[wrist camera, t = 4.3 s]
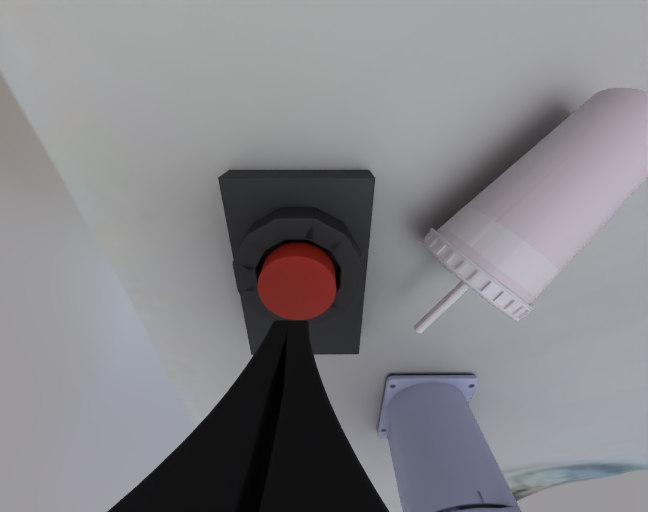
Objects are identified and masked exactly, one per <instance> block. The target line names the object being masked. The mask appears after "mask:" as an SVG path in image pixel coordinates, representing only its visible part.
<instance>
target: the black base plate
mask: <svg viewBox="0 0 648 512" xmlns="http://www.w3.org/2000/svg"><path fill="white" fill-rule="evenodd" d="M218 179H219V184H220V189H221V195H222V200H223V205H224V211H225V216H226V221H227V227H228V232H229V237H230V243H231V248H232V253H233V259H234V261H233V268H234V273H235V278H236V284H237V289H238V291H239V293H240V296H241V301H242V307H243V312H244V317H245V323H246V328H247V333H248V339H249V344H250V349H251V354H252V355H254V354H255V352H256V351H257V349H258V348H259V346H260V344H261V343H262V341H263V339H264V338H265V336H266V334H267V332H268V331H269V329H270V327H271V325H272V323H273V322H274V321H275V320H291V319H286V318H283V317H280V316H278V315H276V314H274V313H273V312H271V311H270V310H269V309H268V308H267V307H266V306H265V305H264V304H263V303H262V301H261V299H260V297H259V294H258V290H257V283H258V279H259V276H260V273H261V270H262V267H263V265H264V262H265V260H266V258H267V257H268V255H269V254H270V253H271V252H272V251H273V250H274V249H276V248H277V247H279V246H281V245H284V244H287V243H292V242H303V243H308V244H311V245H314V246H316V247H318V248H320V249H321V250H323V251H324V252H325V253H326V254H327V255H328V256H329V257H330V259H331V261H332V262H333V265H334V268H335V277H336V296H335V299H334V301H333V303H332V304H331V306H330V307H329V308H328V309H327V310H326V311H325V312H323V313H322V314H320V315H318V316H316V317H314V318H311V319H306V321H307V322H309V337H310V342H311V347H312V351H313V354H359V345H360V334H361V324H362V313H363V302H364V292H365V281H366V270H367V259H368V249H369V238H370V227H371V216H372V206H373V195H374V184H375V177H374V176H373V174H372V173H371V172H370V171H369V170H229V171H227V172H226V173H224V174H223V175H221V176H220V177H219V178H218Z"/></svg>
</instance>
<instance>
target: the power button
mask: <svg viewBox="0 0 648 512" xmlns="http://www.w3.org/2000/svg"><path fill="white" fill-rule="evenodd" d="M257 290H258V294H259V297H260V299H261V301H262V303H263V304H264V305H265V306H266V307H267V308H268V309H269V310H270V311H271V312H273V313H274V314H276V315H278V316H280V317H283V318H286V319H291V320H306V319H311V318H314V317H316V316H318V315H320V314H322V313H323V312H325V311H326V310H327V309H328V308H329V307H330V306H331V304H332V303H333V301H334V299H335V296H336V277H335V268H334V265H333V262H332V261H331V259H330V257H329V256H328V255H327V254H326V253H325V252H324V251H323V250H321V249H320V248H318V247H316V246H314V245H311V244H308V243H303V242H292V243H287V244H284V245H281V246H279V247H277V248H276V249H274V250H273V251H272V252H271V253H270V254H269V255H268V257H267V258H266V260H265V262H264V265H263V267H262V270H261V273H260V276H259V279H258V283H257Z"/></svg>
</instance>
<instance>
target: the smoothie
mask: <svg viewBox="0 0 648 512" xmlns="http://www.w3.org/2000/svg"><path fill="white" fill-rule="evenodd" d="M647 177H648V92H647V91H642V90H637V89H630V88H613V89H606V90H603V91H600V92H598V93H596V94H595V95H593V96H592V97H591V98H590V99H589V100H587V101H586V102H585V103H584V104H583V105H582V106H580V107H579V108H578V109H577V110H576V111H575V112H573V113H572V114H571V115H570V116H569V117H568V118H566V119H565V120H564V121H563V122H562V123H561V124H560V125H558V126H557V127H556V128H555V129H554V130H553V131H551V132H550V133H549V134H548V135H547V136H546V137H544V138H543V139H542V140H541V141H540V142H539V143H537V144H536V145H535V146H534V147H533V148H532V149H530V150H529V151H528V152H527V153H526V154H525V155H523V156H522V157H521V158H520V159H519V160H518V161H517V162H515V163H514V164H513V165H512V166H511V167H510V168H508V169H507V170H506V171H505V172H504V173H503V174H501V175H500V176H499V177H498V178H497V179H496V180H494V181H493V182H492V183H491V184H490V185H489V186H487V187H486V188H485V189H484V190H483V191H482V192H480V193H479V194H478V195H477V196H476V197H475V198H474V199H472V200H471V201H470V202H469V203H468V204H467V205H465V206H464V207H463V208H462V209H460V210H459V211H458V212H457V213H456V214H455V215H454V216H453V217H451V218H450V219H449V220H448V221H447V222H446V223H445V224H444V225H442V226H441V227H440V228H439V229H437V230H435V229H434V228H431V229H430V232H429V233H428V234H427V235H426V236H425V237H424V238H423V239H422V243H423V245H424V246H425V247H426V248H427V250H428V251H429V252H430V253H431V254H432V255H433V256H435V257H436V258H437V259H438V260H439V261H440V262H441V263H442V264H443V266H444V267H445V268H447V270H449V271H450V272H451V273H452V274H454V275H455V276H456V277H458V278H459V279H460V280H462V281H461V282H460V283H459V284H458V285H457V286H456V287H455V288H454V289H453V290H452V291H451V292H450V293H448V294H447V295H446V296H445V297H444V298H443V299H442V300H441V301H440V302H439V303H438V304H437V305H436V306H435V307H434V308H433V309H432V310H431V311H430V312H429V313H428V314H427V315H425V316H424V317H423V318H422V319H421V320H420V321H419V322H418V323H417V324H416V325H415V326H414V329H415V331H416V332H418V333H419V334H421V333H422V332H423V331H424V330H425V329H426V328H427V327H428V326H429V325H430V324H431V323H433V322H434V321H435V320H436V319H437V318H438V317H439V316H440V315H441V314H442V313H443V312H444V311H445V310H446V309H448V308H449V307H450V306H451V305H452V304H453V303H454V302H455V301H456V300H457V299H458V298H459V297H460V296H462V295H463V294H464V293H465V292H466V291H467V290H468V289H469V288H471V289H473V290H474V291H475V292H476V293H477V294H479V295H480V296H481V297H483V298H484V299H485V300H486V301H488V302H489V303H490V304H492V305H493V306H494V307H496V308H497V309H498V310H500V311H501V312H503V313H504V314H506V315H507V316H509V317H510V318H512V319H514V320H517V321H520V320H521V319H522V318H523V317H525V316H526V315H527V314H528V313H530V312H531V311H535V308H534V307H533V306H532V305H531V303H532V302H533V301H534V299H535V298H536V297H537V296H538V295H539V294H540V293H541V292H542V291H543V290H544V289H545V288H546V286H547V285H548V284H549V283H550V282H551V281H552V280H553V279H554V278H555V277H556V276H557V275H558V274H559V273H560V271H561V270H562V269H563V268H564V267H565V266H566V265H567V264H568V263H569V262H570V261H571V259H572V258H573V257H574V256H575V255H576V254H577V253H578V252H579V251H580V250H581V249H582V248H583V246H584V245H585V244H586V243H587V242H588V241H589V240H590V239H591V238H592V237H593V236H594V235H595V234H596V232H597V231H598V230H599V229H600V228H601V227H602V226H603V225H604V224H605V223H606V222H607V221H608V219H609V218H610V217H611V216H612V215H613V214H614V213H615V212H616V211H617V210H618V209H619V208H620V206H621V205H622V204H623V203H624V202H625V201H626V200H627V199H628V198H629V197H630V196H631V195H632V194H633V192H634V191H635V190H636V189H637V188H638V187H639V186H640V185H641V184H642V183H643V182H644V181H645V179H646V178H647Z"/></svg>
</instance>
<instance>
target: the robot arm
mask: <svg viewBox="0 0 648 512" xmlns="http://www.w3.org/2000/svg"><path fill="white" fill-rule="evenodd" d="M477 383H478V379H477V377H476V376H475V375H396V376H389V377H388V378H387V381H386V386H385V392H384V398H383V403H382V409H381V414H380V420H379V426H378V431H377V433H378V437H379V438H388V442H389V447H390V452H391V457H392V462H393V467H394V472H395V477H396V482H397V487H398V492H399V497H400V502H401V506H402V509H403V512H521V511H520V508H519V506H518V504H517V502H516V500H515V498H514V496H513V494H512V492H511V490H510V488H509V486H508V484H507V482H506V480H505V478H504V476H503V474H502V472H501V470H500V468H499V466H498V464H497V462H496V460H495V458H494V456H493V454H492V452H491V449H490V447H489V445H488V443H487V441H486V439H485V437H484V435H483V433H482V431H481V429H480V427H479V425H478V423H477V421H476V419H475V417H474V415H473V413H472V411H471V409H470V407H469V405H468V404H469V402H470V399H471V397H472V395H473V393H474V390H475V388H476V386H477ZM108 512H389V510H388V509H387V507H386V506H385V504H384V503H383V501H382V499H381V498H380V496H379V494H378V493H377V491H376V489H375V488H374V486H373V485H372V483H371V481H370V479H369V478H368V476H367V474H366V472H365V471H364V469H363V467H362V466H361V464H360V462H359V460H358V458H357V456H356V455H355V453H354V451H353V449H352V447H351V445H350V443H349V441H348V439H347V437H346V436H345V434H344V432H343V430H342V428H341V426H340V423H339V421H338V419H337V417H336V415H335V413H334V410H333V408H332V406H331V404H330V401H329V399H328V396H327V394H326V391H325V389H324V386H323V383H322V381H321V378H320V375H319V372H318V369H317V366H316V362H315V359H314V355H313V351H312V347H311V342H310V337H309V322H307V321H306V320H275V321H274V322H273V323H272V325H271V327H270V329H269V331H268V332H267V334H266V336H265V338H264V339H263V341H262V343H261V344H260V346H259V348H258V349H257V351H256V352H255V354H254V355H253V357H252V358H251V360H250V361H249V363H248V364H247V366H246V367H245V369H244V370H243V372H242V373H241V374H240V376H239V377H238V378H237V380H236V381H235V382H234V384H233V385H232V386H231V388H230V389H229V390H228V392H227V393H226V394H225V395H224V397H223V398H222V399H221V400H220V402H219V403H218V404H217V405H216V406H215V407H214V409H213V410H212V411H211V412H210V413H209V414H208V416H207V417H206V418H205V419H204V420H203V421H202V422H201V423H200V424H199V425H198V426H197V428H196V429H195V430H194V431H193V432H192V433H191V434H190V435H189V436H188V437H187V438H186V439H185V441H183V442H182V444H180V445H179V446H178V447H177V448H176V449H175V450H174V451H173V452H172V453H171V454H170V455H169V456H168V457H167V458H166V459H165V460H164V461H163V462H162V463H161V464H160V465H159V466H158V467H157V468H156V469H155V470H154V471H153V472H152V473H151V474H149V475H148V476H147V477H146V478H145V479H144V480H143V481H142V482H141V483H140V484H139V485H138V486H137V487H135V488H134V489H133V490H132V491H131V492H130V493H128V494H127V495H126V496H125V497H124V498H123V499H121V500H120V501H119V502H118V503H117V504H116V505H115V506H113V507H112V508H111V509H110V510H109V511H108Z"/></svg>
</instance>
